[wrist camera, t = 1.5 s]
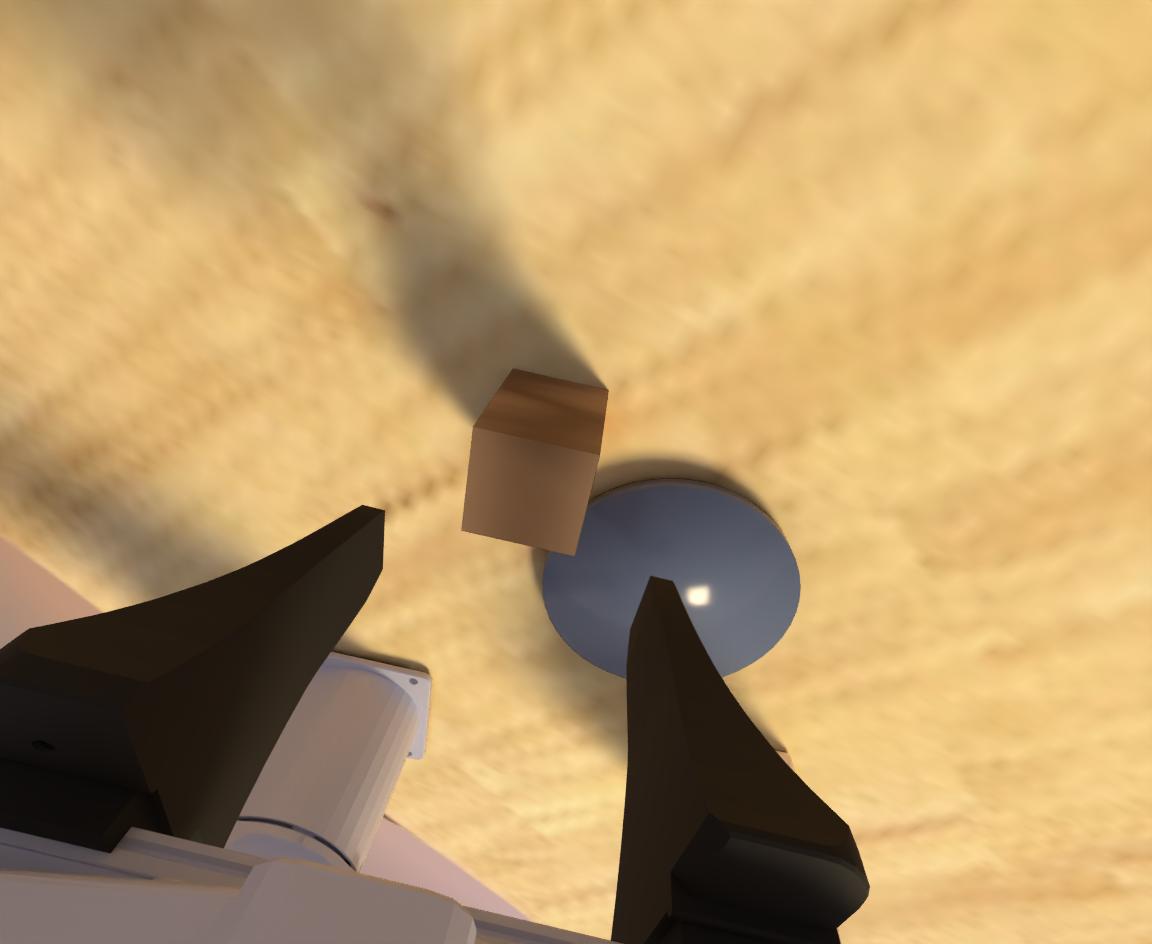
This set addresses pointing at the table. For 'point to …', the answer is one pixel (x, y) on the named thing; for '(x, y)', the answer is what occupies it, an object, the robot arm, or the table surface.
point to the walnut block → (535, 461)
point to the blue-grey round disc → (674, 572)
